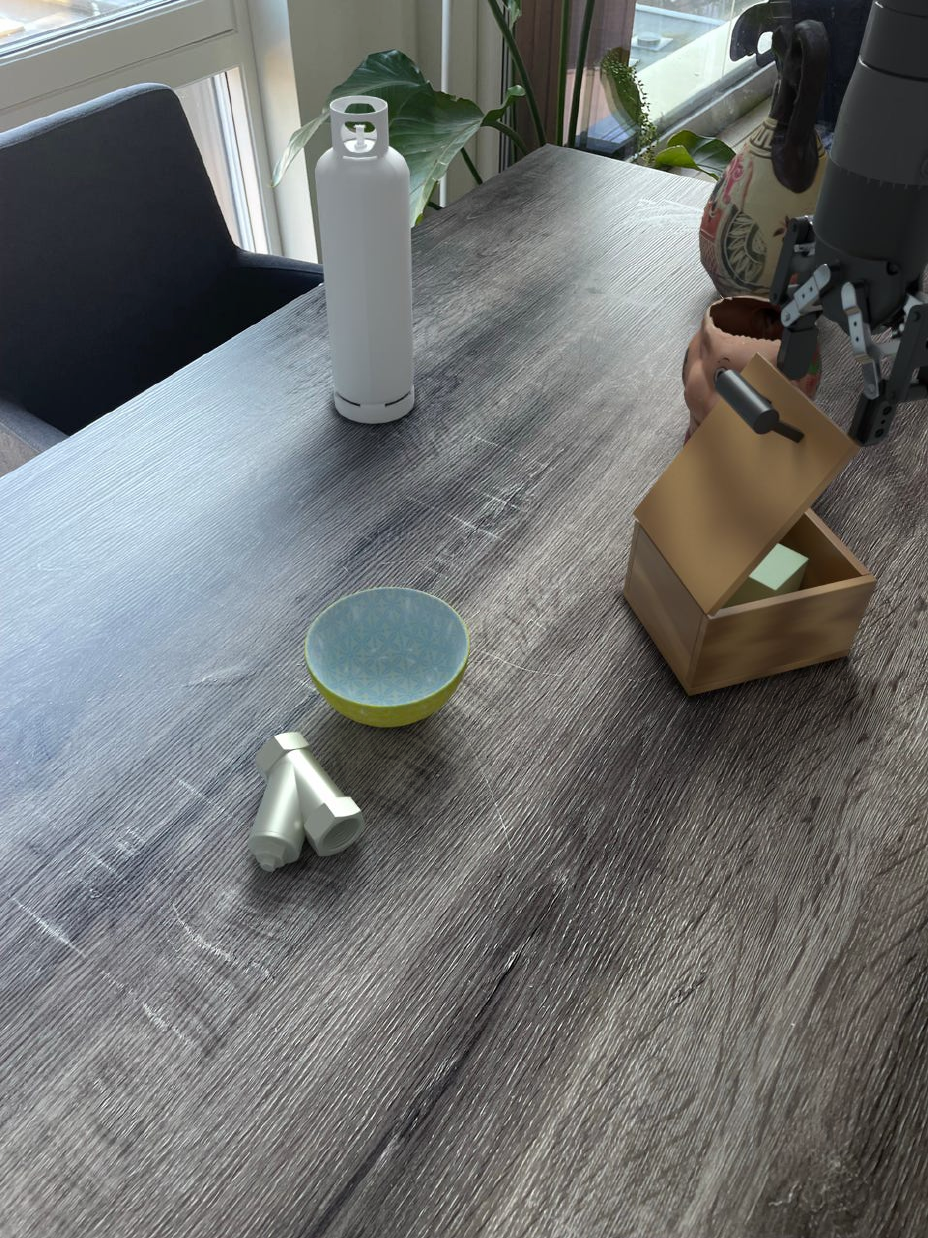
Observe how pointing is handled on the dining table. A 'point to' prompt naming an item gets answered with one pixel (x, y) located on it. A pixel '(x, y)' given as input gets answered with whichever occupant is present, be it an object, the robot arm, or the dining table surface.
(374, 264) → the bottle
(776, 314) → the decorative planter
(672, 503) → the lid
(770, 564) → the block
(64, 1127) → the dining table surface
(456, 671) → the bowl
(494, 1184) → the dining table surface
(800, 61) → the ceramic jug
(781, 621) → the chest
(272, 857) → the pipe fitting
